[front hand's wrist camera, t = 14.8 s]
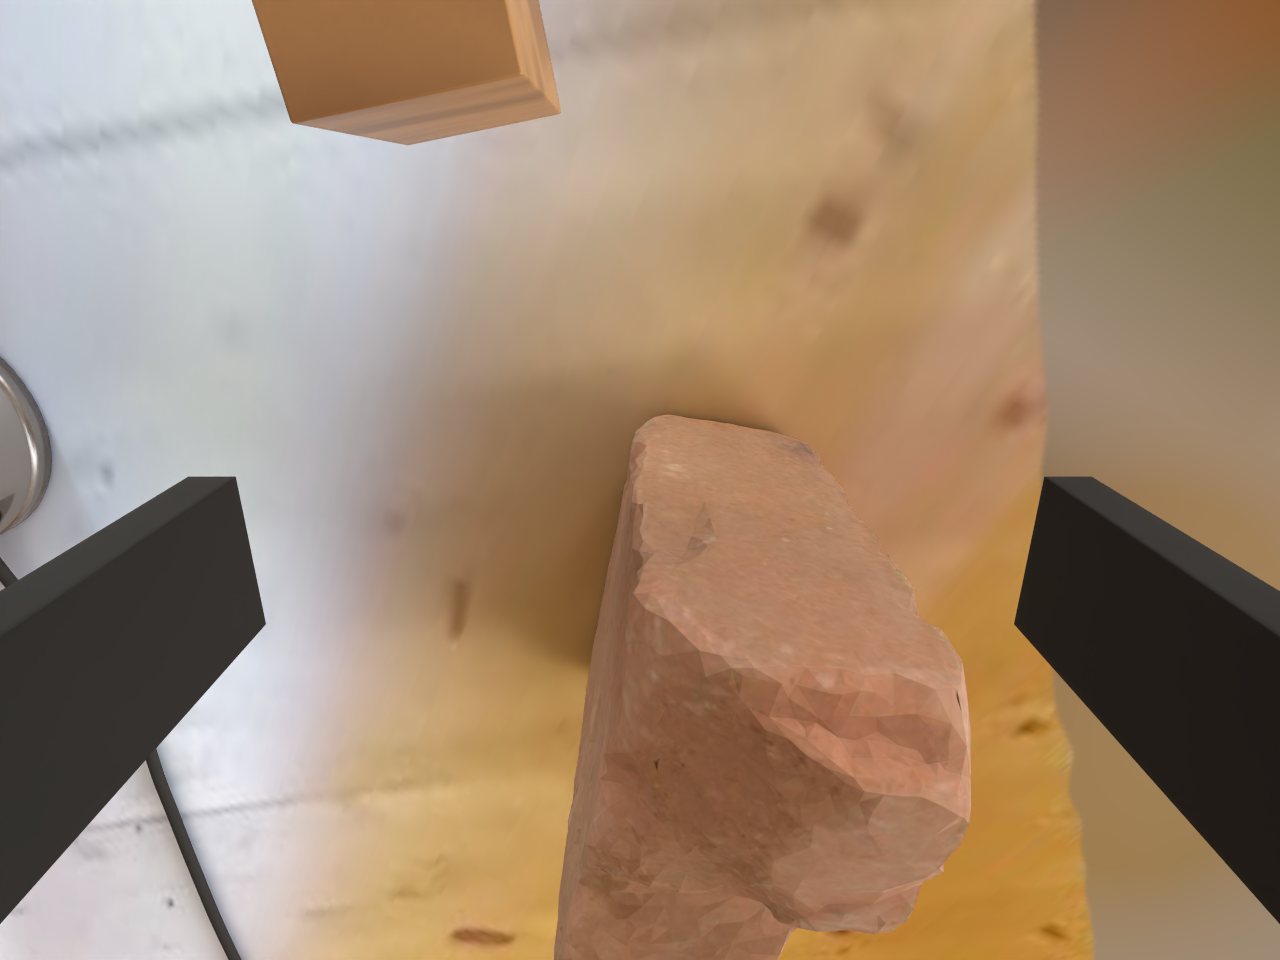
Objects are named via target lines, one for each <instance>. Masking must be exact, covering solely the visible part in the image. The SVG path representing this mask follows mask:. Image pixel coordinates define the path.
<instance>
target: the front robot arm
mask: <svg viewBox="0 0 1280 960" xmlns="http://www.w3.org/2000/svg"><path fill="white" fill-rule="evenodd" d="M50 473H51V448H50V441H49V437H48V432H47V429H46V426H45V423H44V420H43V417H42V415H41V413H40V410H39V408H38V406H37V404H36V402H35V401H34V399H33V397H32V395H31V394H30V392H29V391H28V389H27V388H26V386H25V385H24V383H23V382H22V381H21V379H20V378H19V377H18V375H17V374H16V373H15V372H14V371H13V369H12V368H11V367H10V366H9V365H8V364H7V363H6V362H5V361H4V360H3V359H2V358H1V357H0V534H2V533H4V532H6V531H8V530H10V529H12V528H14V527H15V526H17V525H18V524H20V523H21V522H23V521H24V520H25V519H26V518H27V517H29V516H30V515H31V513H32V512H33V511H34V510H35V509H36V508H37V506H38V505H39V503H40V502H41V500H42V498H43V496H44V494H45V492H46V489H47V486H48V483H49V478H50ZM0 581H1V583H2V584H3V585H4V586H5V589H3V590H2V591H0V924H1V922H2V921H3V920H4V919H5V918H6V917H7V916H8V915H9V913H10V912H11V911H12V910H13V909H14V908H15V907H16V906H17V904H18V903H19V902H20V901H21V900H22V899H23V898H24V897H25V895H26V894H27V893H28V892H29V891H30V890H31V889H32V887H33V886H34V885H35V884H36V883H37V882H38V881H39V880H40V878H41V877H42V876H43V875H44V874H45V873H46V872H47V871H48V869H49V868H50V867H51V866H52V865H53V864H54V863H55V862H56V860H57V859H58V858H59V857H60V856H61V855H62V854H63V853H64V851H65V850H66V849H67V848H68V847H69V846H70V845H71V843H72V842H73V841H74V840H75V839H76V838H77V837H78V836H79V834H80V833H81V832H82V831H83V830H84V829H85V828H86V827H87V825H88V824H89V823H90V822H91V821H92V820H93V819H94V818H95V816H96V815H97V814H98V813H99V812H100V811H101V810H102V808H103V807H104V806H105V805H106V804H107V803H108V802H109V801H110V799H111V798H112V797H113V796H114V795H115V794H116V793H117V792H118V790H119V789H120V788H121V787H122V786H123V785H124V784H125V783H126V781H127V780H128V779H129V778H130V777H131V776H132V775H133V773H134V772H135V771H136V770H137V769H138V768H139V767H140V766H141V764H142V763H143V762H144V761H145V760H146V762H147V765H148V768H149V771H150V774H151V777H152V780H153V782H154V785H155V788H156V790H157V793H158V795H159V798H160V800H161V802H162V805H163V807H164V810H165V812H166V815H167V817H168V820H169V822H170V825H171V827H172V830H173V833H174V835H175V838H176V840H177V843H178V845H179V848H180V850H181V853H182V855H183V858H184V860H185V862H186V865H187V867H188V870H189V872H190V875H191V877H192V879H193V882H194V884H195V887H196V889H197V891H198V894H199V896H200V899H201V901H202V903H203V906H204V908H205V910H206V913H207V915H208V917H209V919H210V922H211V924H212V926H213V928H214V930H215V932H216V935H217V937H218V939H219V941H220V943H221V945H222V947H223V949H224V951H225V953H226V955H227V957H228V960H241V958H240V956H239V954H238V952H237V950H236V948H235V945H234V943H233V941H232V939H231V937H230V935H229V933H228V931H227V928H226V926H225V924H224V922H223V920H222V917H221V915H220V913H219V911H218V908H217V906H216V904H215V901H214V899H213V896H212V894H211V891H210V889H209V887H208V884H207V882H206V879H205V877H204V874H203V872H202V869H201V867H200V864H199V862H198V860H197V857H196V855H195V852H194V850H193V847H192V844H191V842H190V839H189V837H188V834H187V832H186V829H185V826H184V824H183V821H182V819H181V816H180V813H179V811H178V808H177V806H176V803H175V801H174V798H173V796H172V793H171V791H170V788H169V786H168V783H167V781H166V778H165V775H164V772H163V769H162V766H161V763H160V760H159V756H158V753H157V750H156V748H157V746H158V745H159V744H160V743H161V742H162V741H163V740H164V739H165V737H166V736H167V735H168V734H169V733H170V732H171V731H172V729H173V728H174V727H175V726H176V725H177V724H178V723H179V722H180V720H181V719H182V718H183V717H184V716H185V715H186V714H187V713H188V711H189V710H190V709H191V708H192V707H193V706H194V705H195V704H196V702H197V701H198V700H199V699H200V698H201V697H202V696H203V694H204V693H205V692H206V691H207V690H208V689H209V688H210V687H211V685H212V684H213V683H214V682H215V681H216V680H217V679H218V678H219V676H220V675H221V674H222V673H223V672H224V671H225V670H226V669H227V667H228V666H229V665H230V664H231V663H232V662H233V661H234V659H235V658H236V657H237V656H238V655H239V654H240V653H241V652H242V650H243V649H244V648H245V647H246V646H247V645H248V644H249V643H250V641H251V640H252V639H253V638H254V637H255V636H256V635H257V634H258V632H259V631H260V630H261V629H262V628H263V627H264V626H265V624H266V623H265V618H264V613H263V608H262V603H261V598H260V593H259V588H258V584H257V579H256V574H255V569H254V564H253V559H252V554H251V549H250V545H249V540H248V535H247V530H246V525H245V520H244V515H243V510H242V506H241V501H240V496H239V491H238V486H237V481H236V477H187V478H186V479H184V480H182V481H181V482H179V483H177V484H176V485H174V486H172V487H171V488H169V489H167V490H166V491H164V492H163V493H161V494H159V495H158V496H156V497H154V498H153V499H151V500H149V501H148V502H146V503H144V504H143V505H141V506H140V507H138V508H136V509H135V510H133V511H131V512H130V513H128V514H126V515H125V516H123V517H121V518H120V519H118V520H117V521H115V522H113V523H112V524H110V525H108V526H107V527H105V528H103V529H102V530H100V531H98V532H97V533H95V534H94V535H92V536H90V537H89V538H87V539H85V540H84V541H82V542H80V543H79V544H77V545H75V546H74V547H72V548H71V549H69V550H67V551H66V552H64V553H62V554H61V555H59V556H57V557H56V558H54V559H52V560H51V561H49V562H48V563H46V564H44V565H43V566H41V567H39V568H38V569H36V570H34V571H33V572H31V573H29V574H28V575H26V576H25V577H23V578H21V579H20V580H18V579H17V578H16V577H15V576H14V574H13V573H12V572H11V570H10V569H9V568H8V567H7V565H6V564H5V563H4V562H3V560H2V559H1V558H0ZM1014 625H1015V626H1016V627H1017V628H1018V629H1019V630H1020V631H1021V632H1022V634H1023V635H1024V636H1025V637H1026V638H1027V639H1028V640H1029V641H1030V643H1031V644H1032V645H1033V646H1034V647H1035V648H1036V649H1037V650H1038V652H1039V653H1040V654H1041V655H1042V656H1043V657H1044V658H1045V659H1046V661H1047V662H1048V663H1049V664H1050V665H1051V666H1052V667H1053V669H1054V670H1055V671H1056V672H1057V673H1058V674H1059V675H1060V676H1061V678H1062V679H1063V680H1064V681H1065V682H1066V683H1067V684H1068V685H1069V687H1070V688H1071V689H1072V690H1073V691H1074V692H1075V693H1076V694H1077V696H1078V697H1079V698H1080V699H1081V700H1082V701H1083V702H1084V703H1085V705H1086V706H1087V707H1088V708H1089V709H1090V710H1091V711H1092V712H1093V714H1094V715H1095V716H1096V717H1097V718H1098V719H1099V720H1100V722H1101V723H1102V724H1103V725H1104V726H1105V727H1106V728H1107V729H1108V731H1109V732H1110V733H1111V734H1112V735H1113V736H1114V737H1115V739H1116V740H1117V741H1118V742H1119V743H1120V744H1121V745H1122V746H1123V748H1124V749H1125V750H1126V751H1127V752H1128V753H1129V754H1130V755H1131V757H1132V758H1133V759H1134V760H1135V761H1136V762H1137V763H1138V764H1139V765H1140V767H1141V768H1142V769H1143V770H1144V771H1145V772H1146V773H1147V775H1148V776H1149V777H1150V778H1151V779H1152V780H1153V781H1154V782H1155V784H1156V785H1157V786H1158V787H1159V788H1160V789H1161V790H1162V791H1163V793H1164V794H1165V795H1166V796H1167V797H1168V798H1169V799H1170V801H1171V802H1172V803H1173V804H1174V805H1175V806H1176V807H1177V808H1178V810H1179V811H1180V812H1181V813H1182V814H1183V815H1184V816H1185V817H1186V819H1187V820H1188V821H1189V822H1190V823H1191V824H1192V825H1193V827H1194V828H1195V829H1196V830H1197V831H1198V832H1199V833H1200V834H1201V836H1202V837H1203V838H1204V839H1205V840H1206V841H1207V842H1208V843H1209V845H1210V846H1211V847H1212V848H1213V849H1214V850H1215V851H1216V852H1217V854H1218V855H1219V856H1220V857H1221V858H1222V859H1223V860H1224V861H1225V863H1226V864H1227V865H1228V866H1229V867H1230V868H1231V869H1232V871H1233V872H1234V873H1235V874H1236V875H1237V876H1238V877H1239V878H1240V880H1241V881H1242V882H1243V883H1244V884H1245V885H1246V886H1247V887H1248V889H1249V890H1250V891H1251V892H1252V893H1253V894H1254V895H1255V897H1256V898H1257V899H1258V900H1259V901H1260V902H1261V903H1262V904H1263V906H1264V907H1265V908H1266V909H1267V910H1268V911H1269V912H1270V913H1271V915H1272V916H1273V917H1274V918H1275V919H1276V920H1277V921H1278V922H1279V924H1280V591H1278V590H1277V589H1275V588H1274V587H1272V586H1270V585H1269V584H1267V583H1265V582H1264V581H1262V580H1260V579H1259V578H1257V577H1255V576H1254V575H1252V574H1251V573H1249V572H1247V571H1246V570H1244V569H1242V568H1241V567H1239V566H1237V565H1236V564H1234V563H1232V562H1231V561H1229V560H1227V559H1226V558H1224V557H1223V556H1221V555H1219V554H1218V553H1216V552H1214V551H1213V550H1211V549H1209V548H1208V547H1206V546H1205V545H1203V544H1201V543H1200V542H1198V541H1196V540H1195V539H1193V538H1191V537H1190V536H1188V535H1186V534H1185V533H1183V532H1182V531H1180V530H1178V529H1177V528H1175V527H1173V526H1172V525H1170V524H1168V523H1167V522H1165V521H1163V520H1162V519H1160V518H1159V517H1157V516H1155V515H1154V514H1152V513H1150V512H1149V511H1147V510H1145V509H1144V508H1142V507H1140V506H1139V505H1137V504H1136V503H1134V502H1132V501H1131V500H1129V499H1127V498H1126V497H1124V496H1122V495H1121V494H1119V493H1117V492H1116V491H1114V490H1113V489H1111V488H1109V487H1108V486H1106V485H1104V484H1103V483H1101V482H1099V481H1098V480H1096V479H1094V478H1093V477H1044V481H1043V486H1042V491H1041V496H1040V501H1039V505H1038V510H1037V515H1036V520H1035V525H1034V530H1033V535H1032V540H1031V544H1030V549H1029V554H1028V559H1027V564H1026V569H1025V574H1024V579H1023V584H1022V588H1021V593H1020V598H1019V603H1018V608H1017V613H1016V618H1015V623H1014Z"/></svg>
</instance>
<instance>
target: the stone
mask: <svg viewBox="0 0 1280 960" xmlns="http://www.w3.org/2000/svg"><path fill="white" fill-rule="evenodd" d="M970 810H971V748H970V722H969V710H968V699H967V692H966V684H965V677H964V670H963V663H962V661H961V659H960V657H959V656H958V654H957V653H956V651H955V650H954V648H953V647H952V645H951V643H950V642H949V640H948V639H947V637H946V636H945V634H944V633H943V632H942V630H941V629H940V628H937V627H935V626H932V625H930V624H927V623H926V622H925V621H923V620H922V619H921V618H919V617H918V613H917V608H916V603H915V598H914V592H913V588H912V586H911V585H910V583H909V582H908V580H907V579H906V577H905V576H904V575H903V573H902V572H901V571H900V570H899V569H898V568H897V567H896V565H895V564H894V562H893V561H892V559H891V558H890V557H889V556H888V555H885V554H882V551H881V546H880V544H879V541H878V539H877V538H876V537H875V536H874V535H873V534H872V533H871V532H870V530H869V529H868V528H867V526H866V525H865V523H864V522H863V521H862V519H861V518H860V517H859V516H858V515H857V514H856V513H855V512H854V511H853V509H852V508H851V506H850V504H849V503H848V501H847V499H846V496H845V490H844V489H843V488H842V487H840V486H839V485H838V483H837V482H836V480H835V479H834V477H833V476H832V475H831V474H830V473H829V472H828V471H827V469H825V468H824V467H823V466H822V465H821V461H820V457H819V455H818V454H817V453H816V452H814V451H813V450H812V449H811V448H810V446H809V445H808V444H806V443H804V442H802V441H800V440H798V439H796V438H792V437H789V436H785V435H782V434H779V433H775V432H771V431H767V430H760V429H754V428H749V427H744V426H739V425H734V424H729V423H721V422H716V421H710V420H700V419H692V418H686V417H682V416H676V415H668V414H667V415H661V416H656V417H653V418H652V419H651V420H649V421H648V422H646V423H645V424H644V425H642V426H641V427H640V428H639V429H638V430H636V431H635V434H634V438H633V441H632V444H631V448H630V456H629V465H628V472H627V479H626V483H625V485H624V489H623V495H622V500H621V506H620V512H619V518H618V523H617V529H616V533H615V538H614V542H613V547H612V552H611V557H610V561H609V565H608V570H607V576H606V581H605V587H604V593H603V597H602V602H601V606H600V612H599V619H598V624H597V629H596V634H595V638H594V643H593V649H592V655H591V662H590V669H589V676H588V682H587V689H586V698H585V707H584V716H583V724H582V733H581V740H580V746H579V757H578V762H577V768H576V774H575V780H574V795H573V802H572V806H571V810H570V814H569V819H568V834H567V840H566V848H565V856H564V864H563V871H562V878H561V885H560V892H559V908H558V923H557V931H556V939H555V947H554V960H778V958H779V956H780V954H781V952H782V950H783V948H784V946H785V944H786V942H787V940H788V939H789V937H790V935H791V933H792V932H793V931H794V930H795V929H796V928H802V929H807V930H812V931H817V932H835V931H838V930H851V931H858V932H864V933H870V934H877V933H884V932H892V931H894V930H895V929H896V928H897V927H898V926H900V925H902V924H903V923H905V922H906V920H907V919H908V917H909V916H910V914H911V913H912V911H913V908H914V905H915V902H916V899H917V896H918V893H919V890H920V887H921V884H922V883H924V882H925V881H927V880H929V879H931V878H933V877H935V876H937V875H939V874H941V873H943V872H944V870H943V863H944V862H945V861H946V859H947V858H948V857H949V856H950V855H951V854H952V852H953V851H954V850H955V849H956V848H957V847H958V846H959V845H960V843H961V841H962V839H963V837H964V834H965V832H966V830H967V827H968V825H969V819H970Z"/></svg>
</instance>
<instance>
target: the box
mask: <svg viewBox="0 0 1280 960" xmlns="http://www.w3.org/2000/svg"><path fill="white" fill-rule="evenodd" d="M252 2H253V6H254V9H255V12H256V15H257V18H258V21H259V24H260V27H261V30H262V33H263V37H264V40H265V43H266V46H267V49H268V52H269V55H270V58H271V61H272V64H273V68H274V71H275V74H276V77H277V80H278V83H279V86H280V89H281V92H282V95H283V98H284V102H285V105H286V108H287V111H288V114H289V117H290V120H291V122H292V123H295V124H300V125H305V126H310V127H315V128H321V129H326V130H331V131H336V132H342V133H347V134H352V135H357V136H363V137H368V138H373V139H378V140H383V141H389V142H394V143H399V144H404V145H411V144H416V143H421V142H426V141H431V140H436V139H440V138H445V137H450V136H455V135H460V134H465V133H470V132H474V131H479V130H484V129H489V128H494V127H499V126H504V125H508V124H513V123H518V122H523V121H528V120H533V119H537V118H542V117H547V116H552V115H557V114H560V113H561V109H560V104H559V99H558V94H557V89H556V84H555V79H554V74H553V70H552V65H551V60H550V55H549V50H548V45H547V40H546V35H545V30H544V25H543V20H542V15H541V10H540V5H539V0H252Z"/></svg>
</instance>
